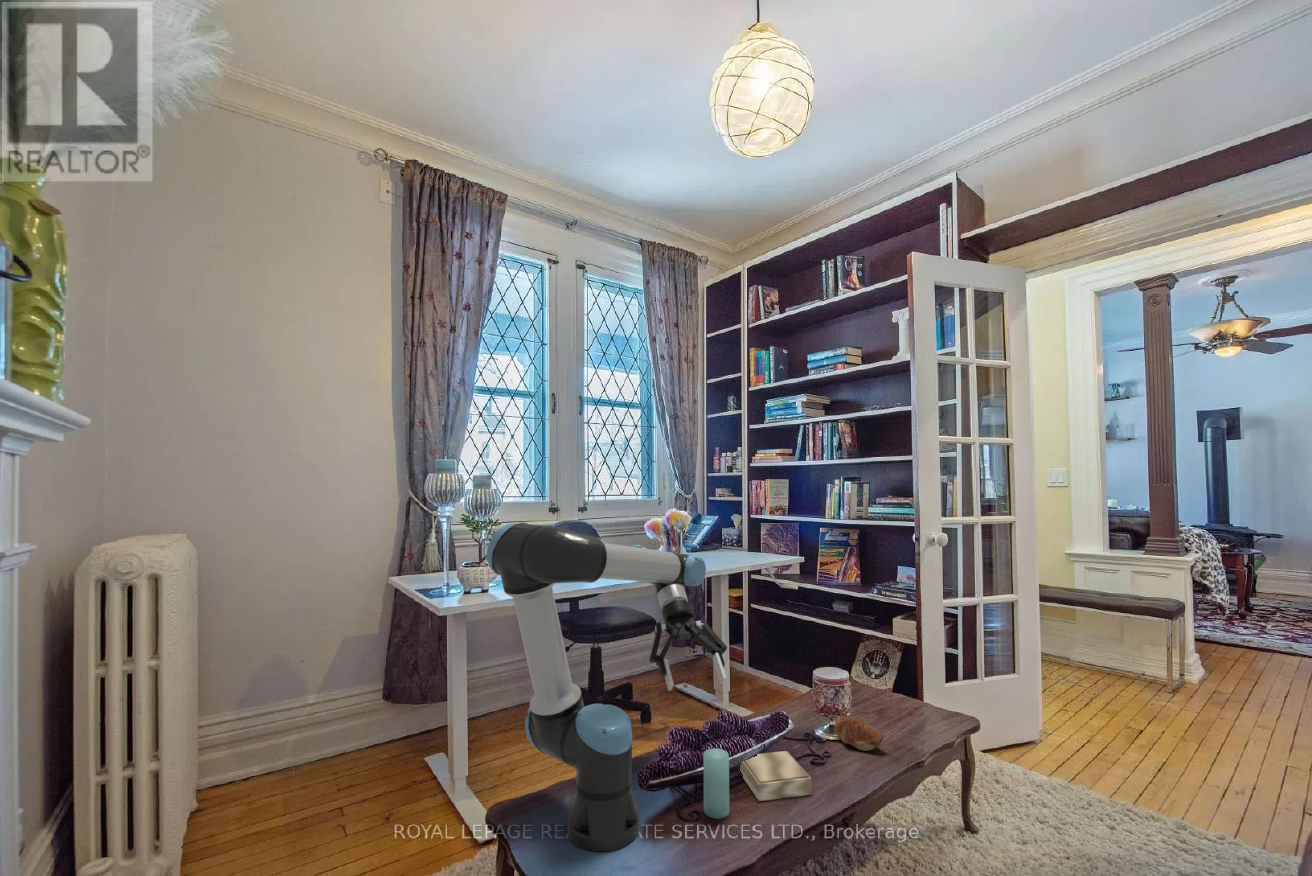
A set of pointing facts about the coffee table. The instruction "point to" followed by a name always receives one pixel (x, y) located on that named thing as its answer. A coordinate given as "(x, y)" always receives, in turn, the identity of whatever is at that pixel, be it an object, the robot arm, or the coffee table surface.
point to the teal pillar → (716, 783)
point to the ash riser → (775, 776)
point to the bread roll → (858, 733)
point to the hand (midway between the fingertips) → (697, 684)
